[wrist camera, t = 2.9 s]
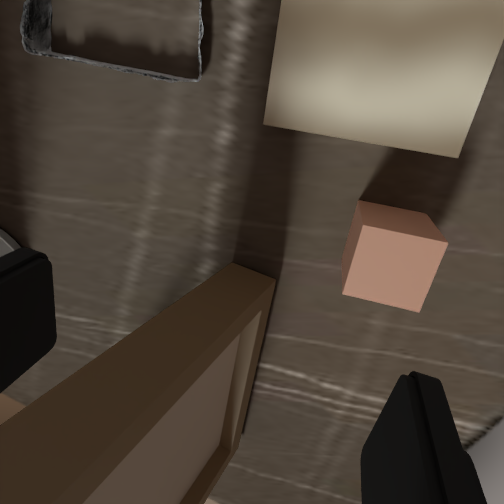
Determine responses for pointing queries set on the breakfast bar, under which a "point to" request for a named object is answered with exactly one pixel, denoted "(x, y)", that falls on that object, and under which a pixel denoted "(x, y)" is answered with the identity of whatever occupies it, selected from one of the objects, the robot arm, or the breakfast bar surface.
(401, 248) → the terracotta block
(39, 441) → the photo frame
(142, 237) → the breakfast bar surface
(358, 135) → the birch block
